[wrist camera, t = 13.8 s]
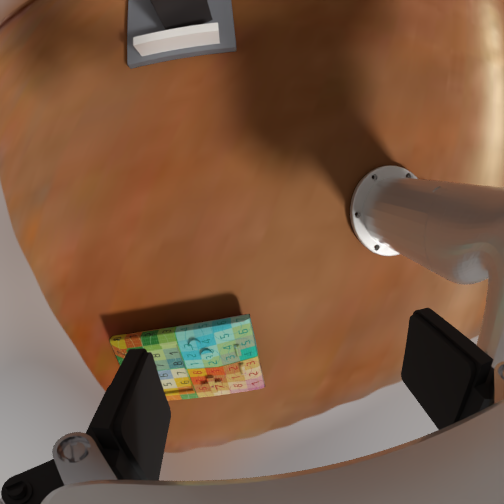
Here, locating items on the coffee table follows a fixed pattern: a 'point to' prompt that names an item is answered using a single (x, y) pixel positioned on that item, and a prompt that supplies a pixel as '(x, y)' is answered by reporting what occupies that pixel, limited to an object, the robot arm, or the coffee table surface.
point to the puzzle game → (200, 357)
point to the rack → (177, 34)
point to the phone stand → (182, 12)
